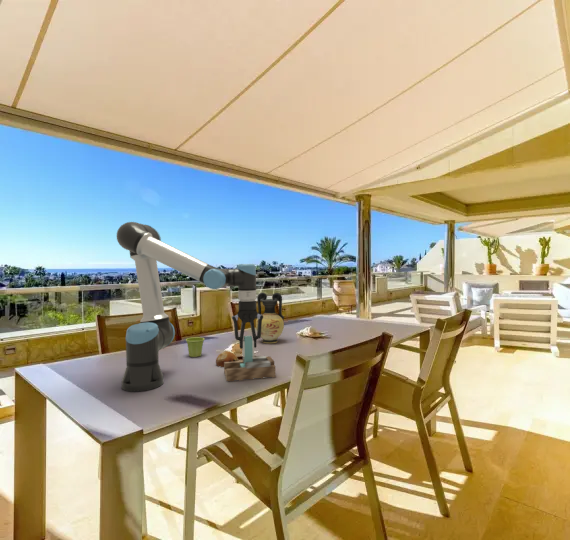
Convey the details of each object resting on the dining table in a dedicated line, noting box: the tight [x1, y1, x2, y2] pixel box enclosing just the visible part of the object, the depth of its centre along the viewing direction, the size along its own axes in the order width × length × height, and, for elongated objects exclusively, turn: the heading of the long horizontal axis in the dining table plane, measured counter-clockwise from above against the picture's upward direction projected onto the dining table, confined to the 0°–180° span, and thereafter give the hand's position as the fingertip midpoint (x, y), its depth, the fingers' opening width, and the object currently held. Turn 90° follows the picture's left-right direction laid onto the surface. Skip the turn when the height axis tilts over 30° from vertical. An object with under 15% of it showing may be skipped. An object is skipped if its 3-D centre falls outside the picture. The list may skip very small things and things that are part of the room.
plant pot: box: [185, 336, 205, 358], centre depth 180 cm, size 9×9×9 cm
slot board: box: [223, 355, 276, 382], centre depth 147 cm, size 20×12×6 cm, turn 105°
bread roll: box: [215, 350, 239, 368], centre depth 164 cm, size 10×10×8 cm
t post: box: [240, 335, 254, 368], centre depth 147 cm, size 6×6×14 cm
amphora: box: [255, 292, 285, 344], centre depth 211 cm, size 18×17×30 cm
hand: (248, 355), depth 147 cm, fingers closed on t post, 3 cm apart
